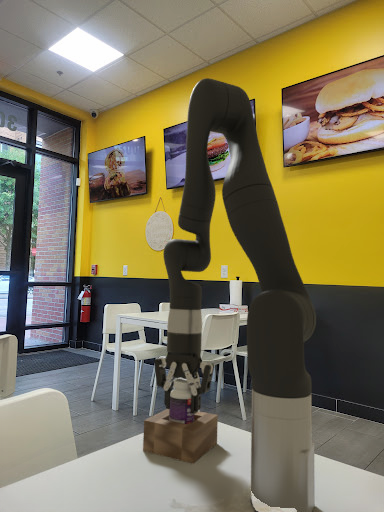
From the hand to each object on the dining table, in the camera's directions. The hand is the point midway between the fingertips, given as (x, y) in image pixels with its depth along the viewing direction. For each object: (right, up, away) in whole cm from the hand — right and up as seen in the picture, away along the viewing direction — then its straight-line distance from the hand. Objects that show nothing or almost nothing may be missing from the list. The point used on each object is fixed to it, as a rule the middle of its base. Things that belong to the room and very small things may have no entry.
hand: (181, 410), depth 80 cm
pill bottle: (0, -4, 0) cm, 4 cm away
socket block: (0, -7, -1) cm, 8 cm away
